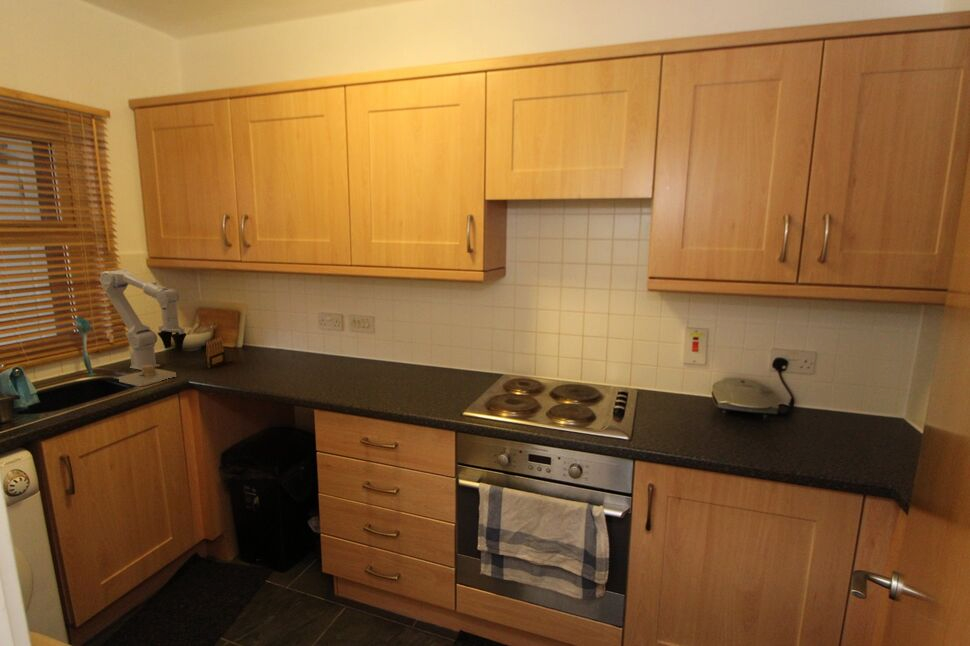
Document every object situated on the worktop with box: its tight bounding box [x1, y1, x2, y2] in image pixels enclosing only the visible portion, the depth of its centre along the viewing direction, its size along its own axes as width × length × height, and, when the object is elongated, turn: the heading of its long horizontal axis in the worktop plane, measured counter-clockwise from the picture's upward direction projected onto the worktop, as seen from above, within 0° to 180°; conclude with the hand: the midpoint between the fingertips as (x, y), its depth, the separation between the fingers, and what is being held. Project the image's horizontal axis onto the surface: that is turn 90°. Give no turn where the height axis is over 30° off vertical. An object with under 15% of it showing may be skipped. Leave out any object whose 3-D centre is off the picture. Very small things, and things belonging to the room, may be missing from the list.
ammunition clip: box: [205, 336, 227, 369], centre depth 223 cm, size 11×2×12 cm, turn 172°
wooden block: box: [141, 365, 156, 377], centre depth 202 cm, size 3×3×6 cm
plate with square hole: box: [118, 368, 177, 387], centre depth 202 cm, size 14×14×2 cm
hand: (173, 348), depth 216 cm, fingers open, 7 cm apart
